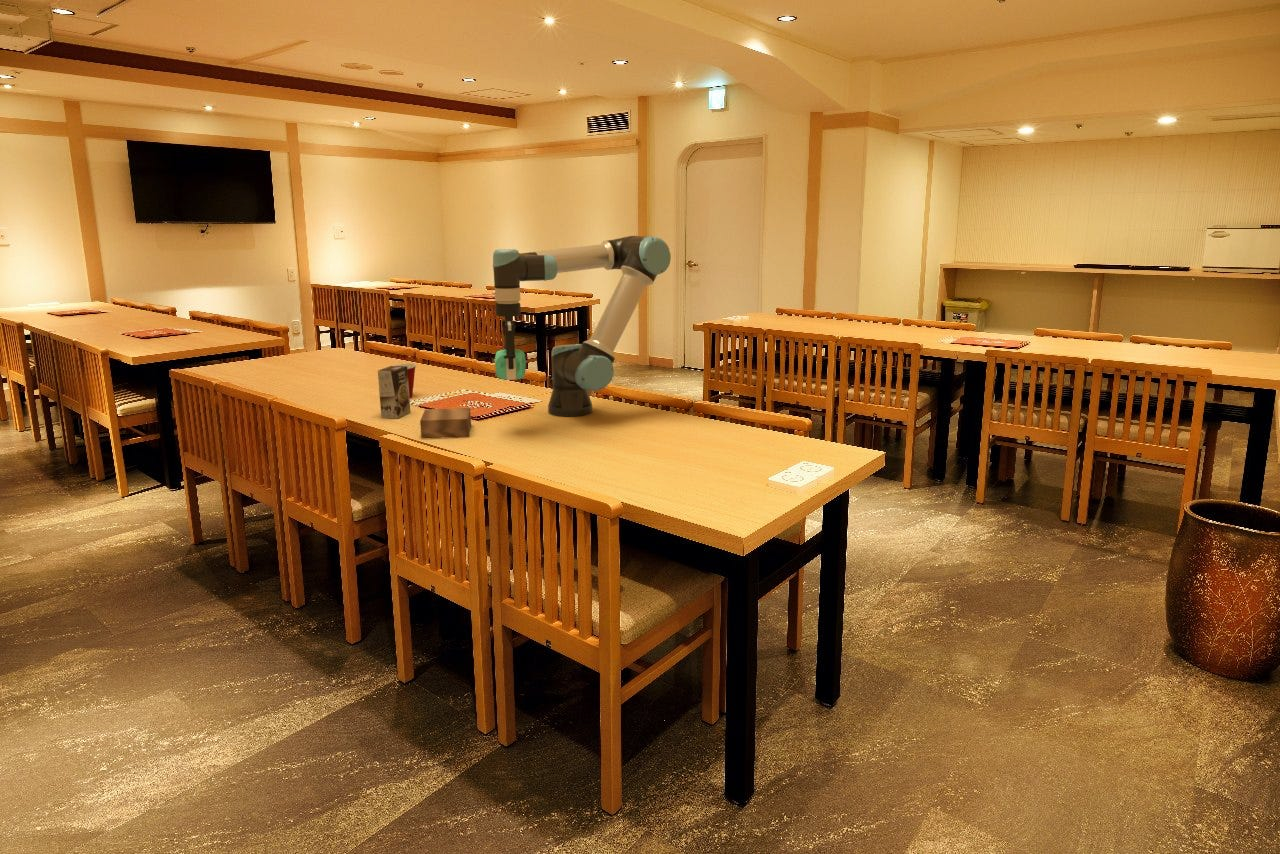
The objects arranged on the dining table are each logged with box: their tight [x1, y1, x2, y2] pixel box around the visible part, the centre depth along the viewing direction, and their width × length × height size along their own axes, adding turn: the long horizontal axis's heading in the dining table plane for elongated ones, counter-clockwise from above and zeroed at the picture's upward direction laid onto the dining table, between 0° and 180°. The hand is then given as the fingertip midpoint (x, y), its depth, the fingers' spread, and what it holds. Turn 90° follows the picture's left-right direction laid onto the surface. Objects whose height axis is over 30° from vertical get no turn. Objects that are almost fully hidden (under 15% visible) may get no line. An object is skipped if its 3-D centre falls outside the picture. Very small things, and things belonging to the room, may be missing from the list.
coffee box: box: [377, 365, 412, 420], centre depth 264 cm, size 9×6×16 cm
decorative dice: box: [494, 348, 527, 381], centre depth 241 cm, size 8×8×8 cm
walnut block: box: [419, 407, 472, 439], centre depth 246 cm, size 14×14×6 cm
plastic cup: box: [391, 362, 417, 399], centre depth 290 cm, size 11×11×12 cm
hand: (510, 376), depth 242 cm, fingers closed on decorative dice, 9 cm apart
